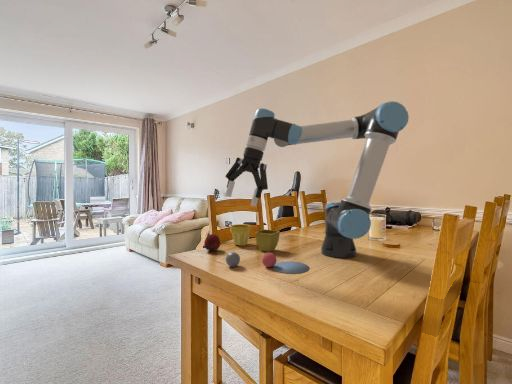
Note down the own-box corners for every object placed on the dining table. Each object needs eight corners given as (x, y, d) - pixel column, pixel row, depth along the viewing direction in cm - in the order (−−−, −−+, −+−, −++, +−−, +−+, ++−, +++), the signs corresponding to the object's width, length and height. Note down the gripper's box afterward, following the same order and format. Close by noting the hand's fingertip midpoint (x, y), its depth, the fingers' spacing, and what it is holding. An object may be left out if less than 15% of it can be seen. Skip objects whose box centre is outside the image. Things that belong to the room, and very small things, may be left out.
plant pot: (232, 241, 143) (232, 223, 143) (251, 242, 142) (251, 224, 142) (228, 246, 133) (228, 227, 133) (249, 247, 132) (249, 227, 131)
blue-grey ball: (240, 264, 105) (240, 250, 105) (239, 268, 100) (239, 254, 99) (227, 264, 105) (227, 250, 105) (224, 268, 100) (224, 254, 100)
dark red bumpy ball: (223, 249, 128) (222, 232, 128) (216, 253, 121) (216, 236, 120) (208, 248, 130) (208, 232, 130) (201, 252, 123) (201, 235, 122)
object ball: (276, 264, 104) (276, 250, 104) (276, 269, 99) (276, 254, 99) (262, 264, 105) (262, 250, 104) (261, 269, 99) (261, 254, 99)
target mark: (306, 261, 108) (306, 261, 108) (311, 274, 94) (311, 273, 94) (271, 261, 109) (271, 260, 109) (271, 273, 95) (271, 272, 95)
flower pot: (280, 249, 127) (280, 230, 127) (271, 253, 120) (271, 234, 119) (264, 247, 132) (264, 229, 131) (254, 251, 124) (254, 232, 124)
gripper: (226, 142, 108) (212, 191, 109) (275, 151, 94) (259, 209, 95) (237, 146, 114) (224, 194, 115) (286, 156, 100) (270, 210, 101)
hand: (240, 201), depth 105 cm, fingers open, 13 cm apart
